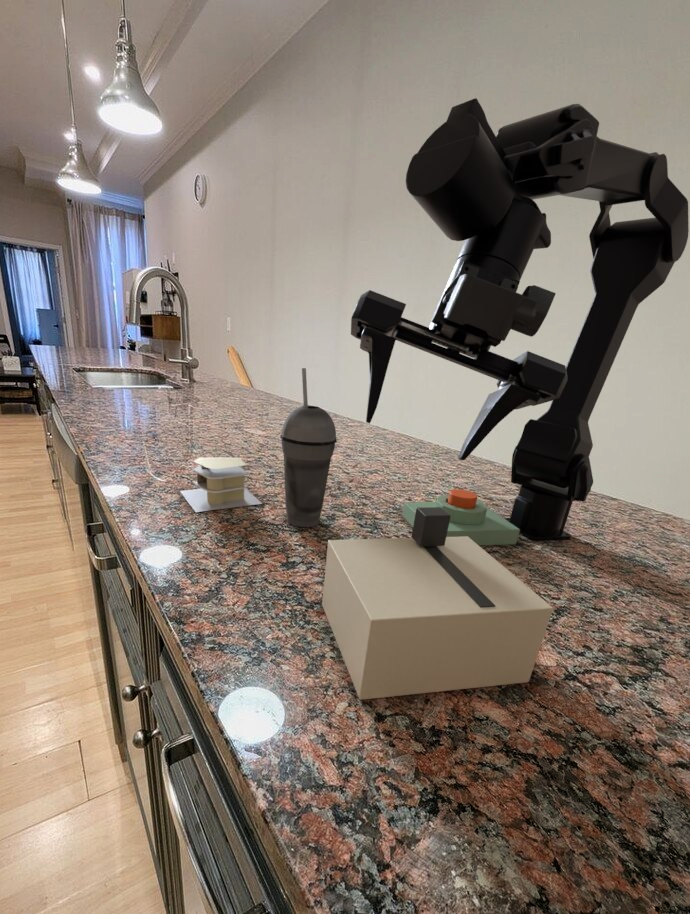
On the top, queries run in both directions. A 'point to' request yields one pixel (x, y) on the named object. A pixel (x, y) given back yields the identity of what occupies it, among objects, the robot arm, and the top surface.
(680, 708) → the top surface
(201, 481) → the stacked layers on plate
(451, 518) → the block
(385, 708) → the top surface
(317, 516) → the beverage cup
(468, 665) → the beige slider box
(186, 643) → the top surface
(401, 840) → the top surface
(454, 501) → the button
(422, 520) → the toaster slider
